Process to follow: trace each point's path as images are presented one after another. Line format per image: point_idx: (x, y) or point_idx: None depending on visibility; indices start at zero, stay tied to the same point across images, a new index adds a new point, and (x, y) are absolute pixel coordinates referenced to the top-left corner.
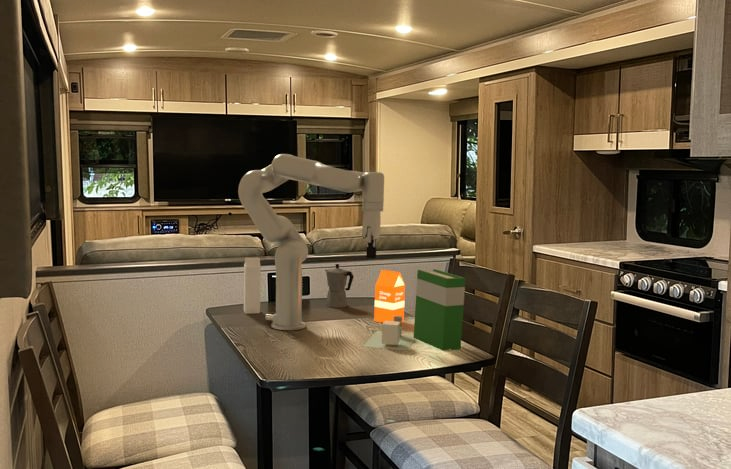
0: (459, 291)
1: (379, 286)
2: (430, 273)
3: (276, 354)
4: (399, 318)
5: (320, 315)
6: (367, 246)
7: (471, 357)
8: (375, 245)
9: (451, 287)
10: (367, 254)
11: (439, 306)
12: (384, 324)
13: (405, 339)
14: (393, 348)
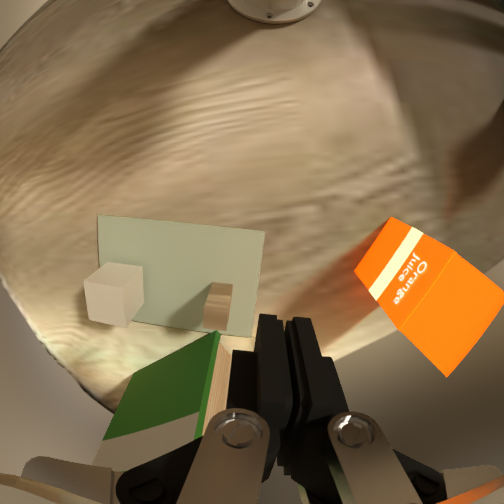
0: None
1: (440, 268)
2: None
3: (33, 58)
4: (203, 322)
5: (429, 63)
6: (213, 422)
7: None
8: (299, 486)
9: None
10: (258, 342)
11: (117, 433)
12: (84, 286)
13: (191, 312)
14: None
